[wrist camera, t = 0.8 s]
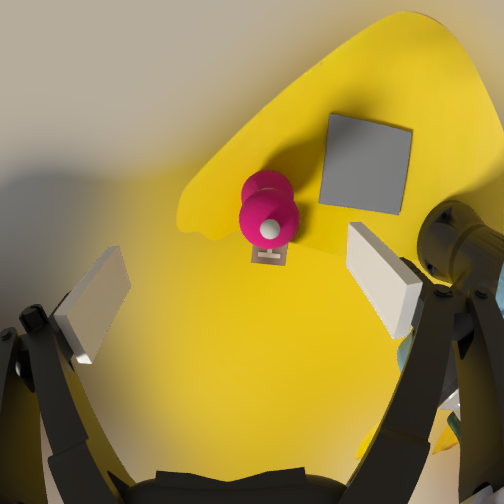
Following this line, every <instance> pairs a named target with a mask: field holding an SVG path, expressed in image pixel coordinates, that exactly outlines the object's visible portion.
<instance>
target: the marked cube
mask: <svg viewBox="0 0 504 504" xmlns="http://www.w3.org/2000/svg"><path fill="white" fill-rule="evenodd" d="M287 248H288V243H287V244H286V245H284V246H282V247H280V248H276V249H263V248H260V247H257V246H255V245H253V249H252V259H251V263H260V264H271V265H281V266H285V262H286V255H287Z"/></svg>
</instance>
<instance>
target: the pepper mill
mask: <svg viewBox="0 0 504 504" xmlns="http://www.w3.org/2000/svg"><path fill="white" fill-rule="evenodd" d="M241 200H242V207H241V210H240V214H239V224H240V228H241V231H242V233H243V235H244V236H245V237H246V239H247V240H248V241H249V242H251V243H252V244H253V245H255V246H257V247H260V248H263V249H276V248H280V247H282V246H284V245H286V244H287V243H288V242H290V241H291V239H292V238H293V237H294V236H295V234H296V232H297V230H298V227H299V220H300V217H299V211H298V208H297V206H296V204H295V202H294V201H293V200H294V194H293V189H292V186H291V184H290V182H289V181H288V180H287V178H285V177H284V176H283V175H282V174H280V173H278V172H275V171H270V170H265V171H260V172H257V173H255V174H253V175H252V176H250V177H249V178H248V179H247V180H246V182H245V183H244V186H243V188H242V193H241Z"/></svg>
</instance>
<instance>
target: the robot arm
mask: <svg viewBox="0 0 504 504" xmlns="http://www.w3.org/2000/svg"><path fill="white" fill-rule="evenodd" d="M417 254H418V258H419V261H420V264H421V265H422V267H423V268H424V269H425V270H426V271H427V272H428V273H429V274H430V275H431V276H432V277H434V278H435V279H438V280H441V281H444V282H447V283H451V284H453V285H452V286H451V287H450V288H449V287H448V286H445V285H441V284H433V283H432V282H431V281H430V280H429V279H428V278H427V276H425V274H424V273H422V272H421V271H420V270H419V269H418V268H417V267H416V266H415V265H414V264H413V263H412V262H411V261H409V260H407V259H405V258H404V257H401V258H399V257H398V256H397V255H396V254H395V253H394V252H393V251H392V250H390V249H389V248H388V247H387V246H386V245H385V244H384V243H383V242H382V241H381V240H380V239H379V238H378V237H377V236H376V235H375V234H374V233H373V232H371V231H370V230H369V229H368V228H367V227H366V226H365V225H364V224H363V223H362V222H351V223H349V226H348V245H347V260H346V267H347V268H348V270H349V271H350V272H351V274H352V275H353V277H354V278H355V280H356V281H357V283H358V284H359V286H360V287H361V289H362V291H363V292H364V294H365V295H366V297H367V298H368V300H369V301H370V303H371V304H372V306H373V308H374V309H375V311H376V312H377V314H378V315H379V317H380V319H381V320H382V322H383V323H384V325H385V327H386V328H387V330H388V332H389V333H390V335H391V337H392V338H393V339H397V338H402V337H405V336H407V337H406V338H405V339H404V340H403V341H402V343H401V344H400V346H399V347H398V351H397V361H398V365H399V369H400V371H401V375H400V378H399V381H398V383H397V385H396V388H395V390H394V393H393V395H392V398H391V400H390V402H389V405H388V407H387V409H386V411H385V414H384V416H383V418H382V420H381V422H380V424H379V427H378V429H377V431H376V433H375V435H374V437H373V439H372V441H371V443H370V444H369V446H368V448H367V450H366V452H365V454H364V456H363V457H362V459H361V461H360V463H359V464H358V466H357V468H356V469H355V471H354V473H353V474H352V476H351V477H350V479H349V481H348V482H347V484H346V485H344V484H342V483H340V482H338V481H336V480H333V479H330V478H326V477H322V476H318V475H308V474H305V469H304V467H300V468H294V469H286V470H278V471H267V472H264V473H261V474H257V475H254V476H250V477H247V478H243V479H239V480H235V481H231V482H225V481H219V480H216V479H211V478H206V477H202V476H199V475H195V474H191V473H178V472H166V471H156V478H155V479H150V480H146V481H142V482H140V483H135V481H134V480H133V479H132V478H131V477H130V476H129V474H128V473H127V471H126V470H125V468H124V466H123V465H122V463H121V461H120V460H119V458H118V457H117V455H116V453H115V451H114V450H113V448H112V446H111V444H110V442H109V441H108V439H107V437H106V435H105V433H104V431H103V429H102V428H101V426H100V423H99V422H98V419H97V417H96V415H95V413H94V411H93V409H92V407H91V405H90V403H89V400H88V398H87V396H86V394H85V391H84V389H83V387H82V384H81V382H80V379H79V377H78V374H77V371H76V369H75V366H74V364H73V362H72V361H71V357H72V356H73V354H74V355H75V357H76V358H77V360H78V362H79V363H88V364H92V363H93V361H94V358H95V356H96V354H97V352H98V350H99V348H100V346H101V344H102V342H103V340H104V338H105V336H106V334H107V332H108V329H109V327H110V326H111V323H112V321H113V320H114V318H115V316H116V314H117V312H118V310H119V308H120V306H121V304H122V302H123V300H124V299H125V297H126V295H127V293H128V291H129V289H130V287H131V284H130V281H129V278H128V274H127V271H126V268H125V265H124V261H123V258H122V254H121V251H120V247H119V246H112V247H108V248H107V249H106V250H105V251H104V252H103V253H102V255H101V256H100V257H99V258H98V259H97V260H96V262H95V263H94V264H93V265H92V266H91V268H90V269H89V270H88V271H87V272H86V273H85V275H84V276H83V277H82V278H81V280H80V281H79V282H78V283H77V284H76V286H75V287H74V288H73V289H72V290H71V291H70V292H69V293H67V294H66V295H65V296H64V298H63V299H62V300H61V302H60V303H59V304H58V307H56V308H55V310H54V311H53V312H52V313H51V315H50V316H49V318H47V316H46V313H45V311H44V310H43V307H42V306H41V305H40V304H34V305H31V306H30V307H27V308H26V309H25V310H24V311H22V312H21V314H20V316H19V319H20V321H21V323H22V325H23V327H24V329H25V331H26V332H27V334H23V335H19V334H18V332H17V330H16V329H15V328H14V327H11V328H7V329H4V330H3V331H1V333H0V504H48V500H47V494H46V487H45V480H44V473H43V464H42V453H41V435H40V412H41V416H42V419H43V423H44V427H45V430H46V434H47V437H48V440H49V443H50V446H51V449H52V452H53V455H52V456H50V457H49V458H48V464H49V468H50V471H51V473H52V476H53V478H54V481H55V483H56V486H57V488H58V491H59V493H60V495H61V498H62V500H63V502H64V504H408V502H409V500H410V497H411V495H412V493H413V491H414V489H415V486H416V484H417V482H418V480H419V477H420V474H421V472H422V470H423V467H424V464H425V462H426V459H427V456H428V454H429V450H430V443H429V442H428V438H429V434H430V432H431V428H432V425H433V422H434V418H435V415H436V411H437V408H439V409H442V410H451V411H454V413H455V414H456V416H457V417H458V419H459V420H460V425H461V447H460V471H459V488H458V492H459V504H504V235H502V234H500V233H499V232H497V231H495V230H493V229H491V228H489V227H488V226H486V225H485V224H484V223H483V221H482V220H481V219H480V217H479V216H478V215H477V214H476V212H475V211H474V210H473V209H472V208H471V207H469V206H468V205H466V204H463V203H461V202H459V201H447V202H444V203H442V204H440V205H438V206H437V207H435V208H434V209H433V210H432V211H431V212H430V213H429V215H428V216H427V217H426V219H425V221H424V222H423V224H422V227H421V229H420V232H419V236H418V241H417ZM411 325H412V326H413V328H412V330H411V332H410V333H409V331H410V328H411Z"/></svg>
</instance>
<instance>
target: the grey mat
mask: <svg viewBox="0 0 504 504" xmlns="http://www.w3.org/2000/svg"><path fill="white" fill-rule="evenodd" d="M411 137H412V133H411V132H407V131H404V130H400V129H397V128H393V127H389V126H386V125H382V124H378V123H374V122H369V121H365V120H360V119H356V118H351V117H346V116H341V115H336V114H329V122H328V131H327V141H326V149H325V158H324V166H323V173H322V181H321V188H320V195H319V202H318V203H319V204H326V205H334V206H341V207H348V208H355V209H362V210H369V211H375V212H382V213H388V214H394V215H399V212H400V207H401V202H402V197H403V191H404V186H405V180H406V174H407V167H408V161H409V153H410V146H411Z"/></svg>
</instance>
